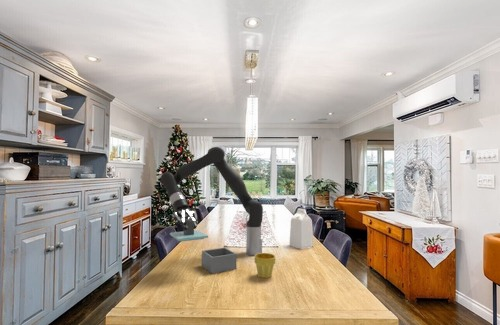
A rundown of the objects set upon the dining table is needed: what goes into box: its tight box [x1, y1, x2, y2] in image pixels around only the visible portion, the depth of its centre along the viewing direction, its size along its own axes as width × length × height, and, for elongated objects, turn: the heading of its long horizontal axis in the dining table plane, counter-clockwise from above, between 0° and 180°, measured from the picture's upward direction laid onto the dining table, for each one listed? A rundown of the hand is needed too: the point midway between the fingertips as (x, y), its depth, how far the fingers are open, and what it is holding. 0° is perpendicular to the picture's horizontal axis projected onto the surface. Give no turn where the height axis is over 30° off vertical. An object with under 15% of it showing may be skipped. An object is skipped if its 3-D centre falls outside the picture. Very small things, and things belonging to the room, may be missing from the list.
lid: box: [169, 219, 209, 242], centre depth 140 cm, size 15×15×9 cm
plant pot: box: [254, 252, 276, 279], centre depth 137 cm, size 10×10×10 cm
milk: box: [289, 208, 314, 250], centre depth 194 cm, size 12×12×26 cm
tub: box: [201, 247, 238, 275], centre depth 148 cm, size 14×14×8 cm
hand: (191, 228), depth 139 cm, fingers closed on lid, 5 cm apart
